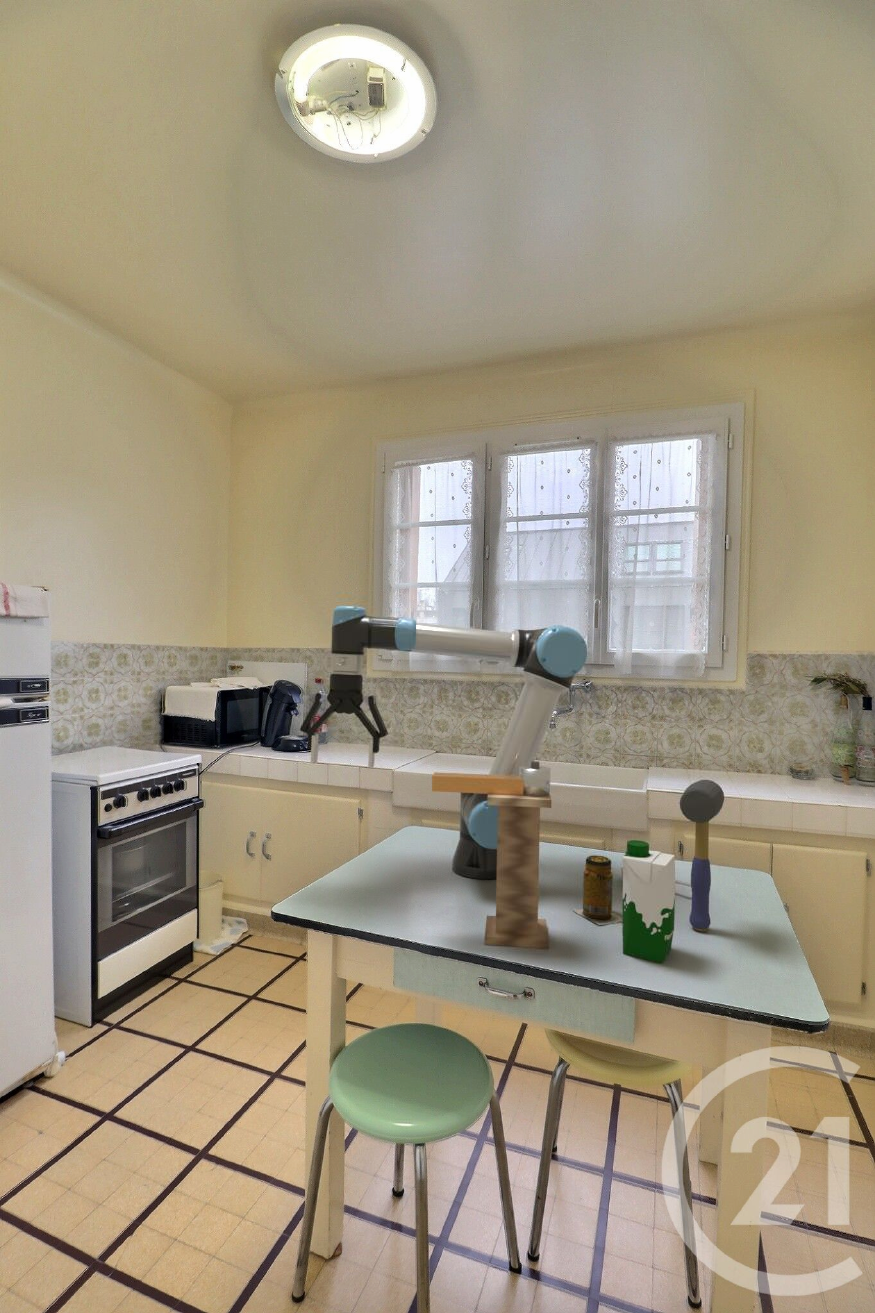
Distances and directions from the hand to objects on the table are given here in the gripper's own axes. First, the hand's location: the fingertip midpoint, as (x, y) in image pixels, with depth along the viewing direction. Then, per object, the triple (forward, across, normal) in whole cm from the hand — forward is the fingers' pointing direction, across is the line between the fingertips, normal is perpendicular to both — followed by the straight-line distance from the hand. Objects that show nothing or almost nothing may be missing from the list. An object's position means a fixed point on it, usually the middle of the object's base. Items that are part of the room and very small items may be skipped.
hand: (342, 765), depth 150 cm
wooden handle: (0, +34, -18) cm, 39 cm away
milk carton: (+27, +66, -21) cm, 74 cm away
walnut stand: (+28, +41, -18) cm, 53 cm away
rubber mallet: (+27, +78, -9) cm, 83 cm away
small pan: (+27, +75, +13) cm, 81 cm away
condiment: (+28, +59, -5) cm, 65 cm away
